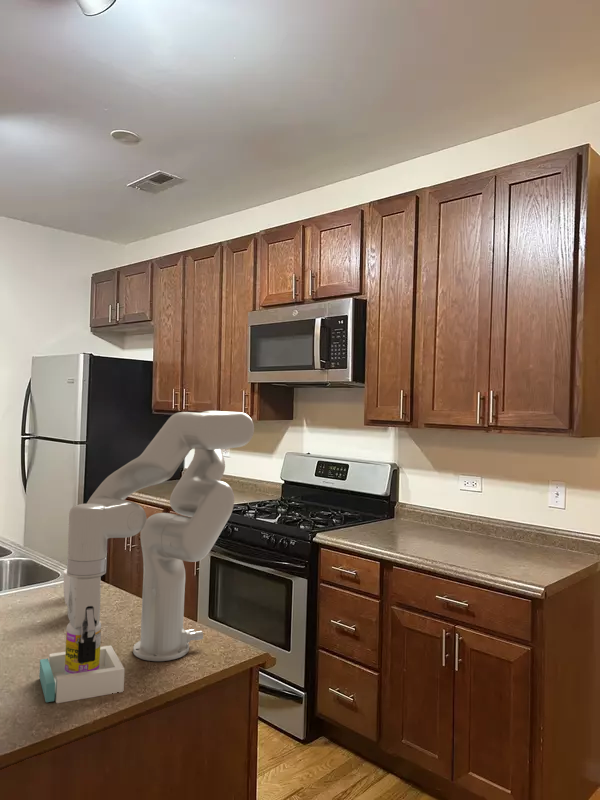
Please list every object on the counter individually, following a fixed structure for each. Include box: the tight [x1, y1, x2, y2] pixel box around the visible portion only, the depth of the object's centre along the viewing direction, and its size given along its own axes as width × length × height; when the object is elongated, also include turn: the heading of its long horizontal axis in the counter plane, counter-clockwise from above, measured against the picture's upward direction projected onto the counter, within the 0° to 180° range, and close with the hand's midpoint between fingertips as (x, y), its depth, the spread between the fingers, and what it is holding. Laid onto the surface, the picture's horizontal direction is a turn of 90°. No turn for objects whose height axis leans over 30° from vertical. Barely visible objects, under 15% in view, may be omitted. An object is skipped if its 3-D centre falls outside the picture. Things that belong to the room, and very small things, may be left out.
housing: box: [48, 644, 125, 704], centre depth 127 cm, size 12×13×4 cm
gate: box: [38, 658, 55, 703], centre depth 124 cm, size 2×12×4 cm, turn 28°
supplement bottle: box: [64, 613, 102, 675], centre depth 127 cm, size 7×7×13 cm
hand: (83, 653), depth 127 cm, fingers closed on supplement bottle, 6 cm apart
